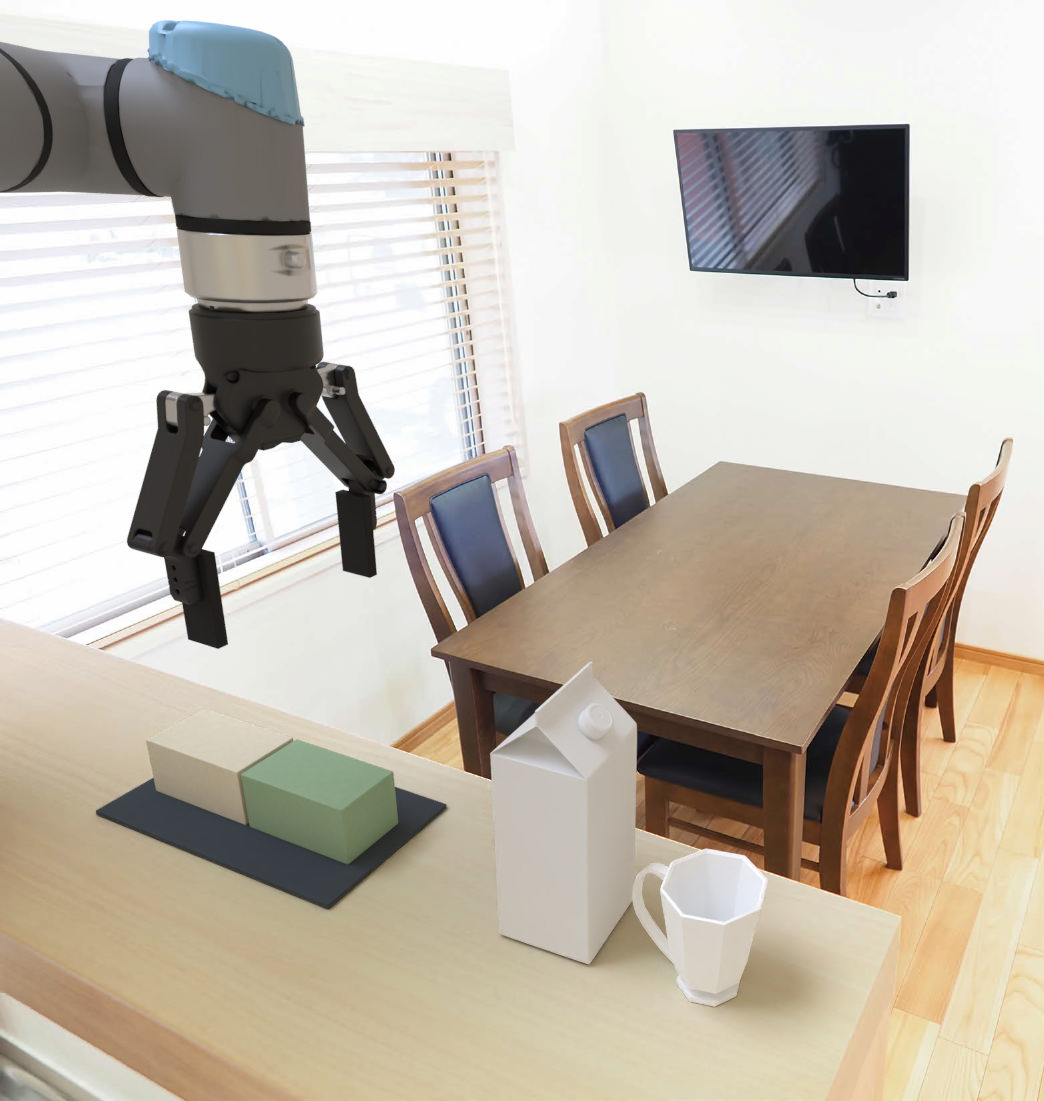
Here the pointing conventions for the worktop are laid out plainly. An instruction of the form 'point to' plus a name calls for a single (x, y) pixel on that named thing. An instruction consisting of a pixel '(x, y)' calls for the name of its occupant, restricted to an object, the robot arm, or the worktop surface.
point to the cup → (705, 920)
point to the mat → (264, 842)
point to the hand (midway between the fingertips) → (290, 604)
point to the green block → (320, 800)
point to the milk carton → (566, 820)
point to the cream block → (210, 760)
